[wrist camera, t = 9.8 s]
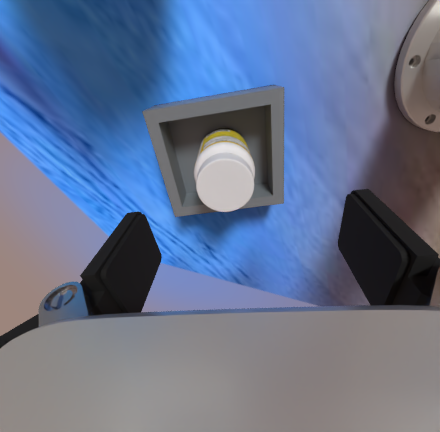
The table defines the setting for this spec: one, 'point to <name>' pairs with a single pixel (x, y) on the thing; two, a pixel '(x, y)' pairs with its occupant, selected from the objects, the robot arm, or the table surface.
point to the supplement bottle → (224, 170)
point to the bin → (212, 119)
